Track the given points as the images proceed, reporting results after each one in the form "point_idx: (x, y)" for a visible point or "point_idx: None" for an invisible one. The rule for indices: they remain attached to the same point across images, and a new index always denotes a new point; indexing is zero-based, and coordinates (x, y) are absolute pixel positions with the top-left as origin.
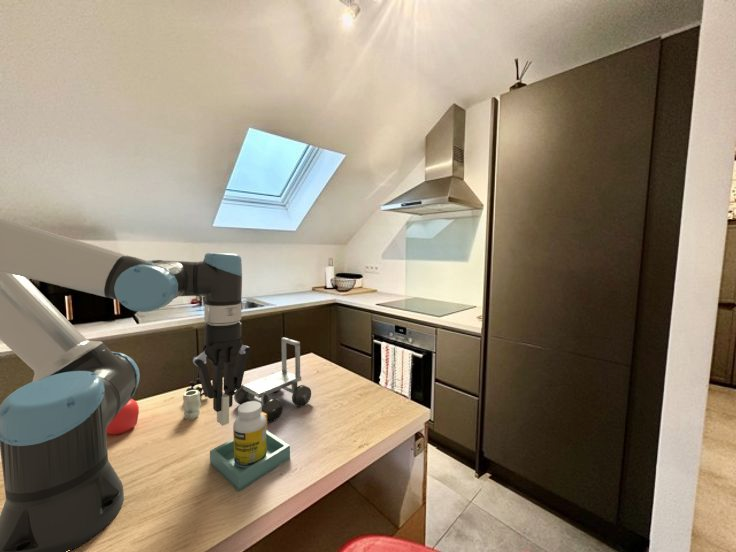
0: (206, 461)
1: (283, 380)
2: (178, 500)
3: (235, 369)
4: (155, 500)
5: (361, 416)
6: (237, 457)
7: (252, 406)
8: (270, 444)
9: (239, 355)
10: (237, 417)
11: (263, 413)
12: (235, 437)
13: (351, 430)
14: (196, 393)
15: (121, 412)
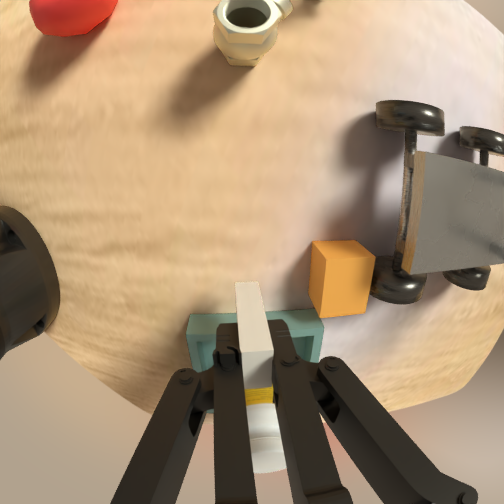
0: (186, 300)
1: (489, 246)
2: (127, 350)
3: (362, 436)
4: (98, 325)
5: (442, 362)
6: None
7: (270, 464)
8: (304, 359)
9: (409, 497)
10: None
11: (363, 302)
12: None
13: (406, 382)
14: (262, 30)
15: (50, 18)
